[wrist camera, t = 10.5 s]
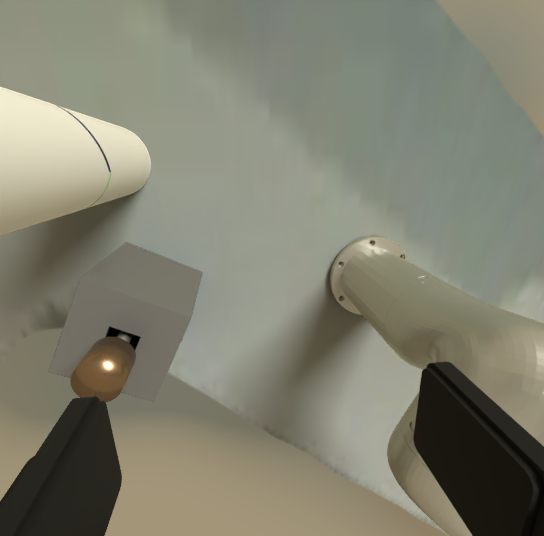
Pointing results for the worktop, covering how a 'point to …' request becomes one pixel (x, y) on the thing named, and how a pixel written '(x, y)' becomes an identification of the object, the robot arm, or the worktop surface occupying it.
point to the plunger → (105, 368)
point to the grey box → (131, 314)
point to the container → (61, 161)
